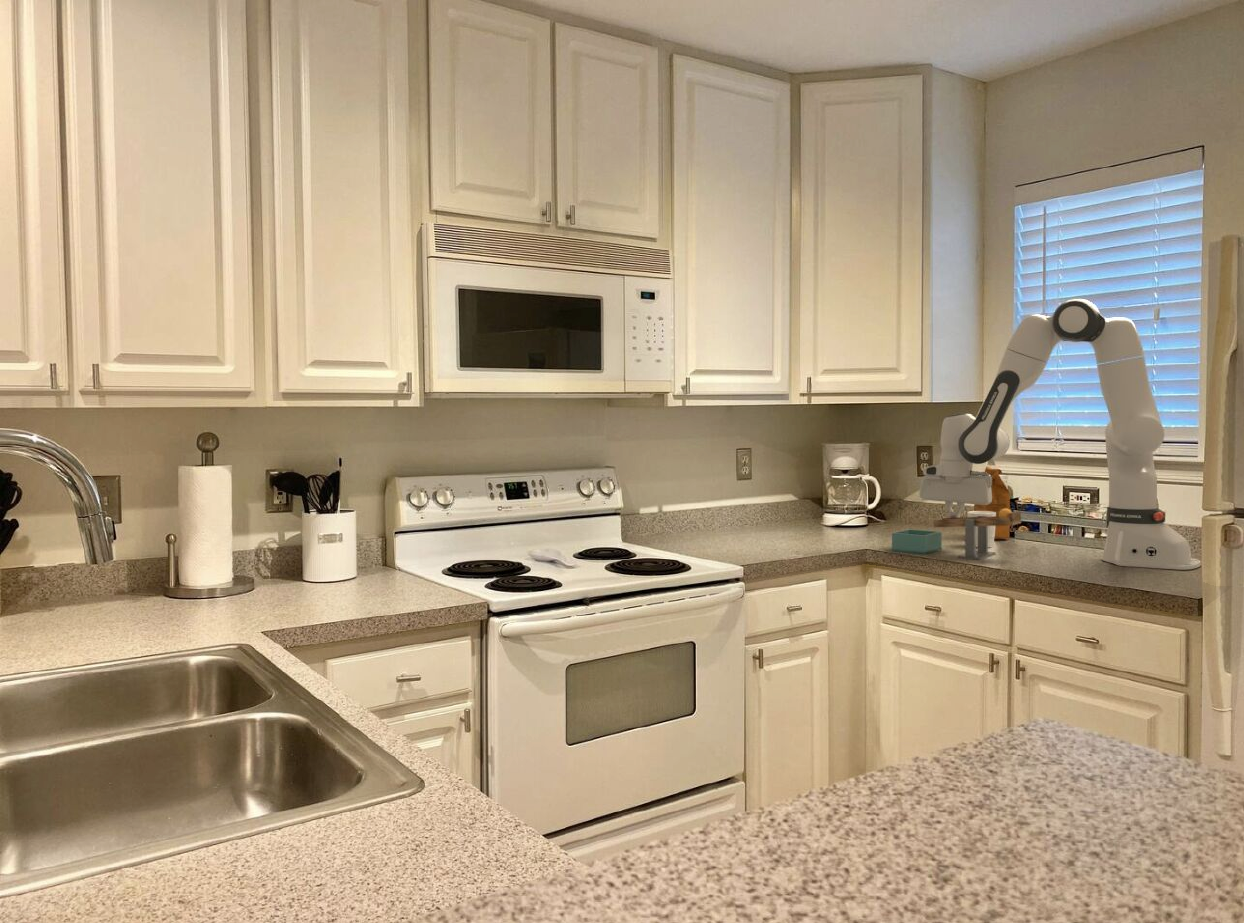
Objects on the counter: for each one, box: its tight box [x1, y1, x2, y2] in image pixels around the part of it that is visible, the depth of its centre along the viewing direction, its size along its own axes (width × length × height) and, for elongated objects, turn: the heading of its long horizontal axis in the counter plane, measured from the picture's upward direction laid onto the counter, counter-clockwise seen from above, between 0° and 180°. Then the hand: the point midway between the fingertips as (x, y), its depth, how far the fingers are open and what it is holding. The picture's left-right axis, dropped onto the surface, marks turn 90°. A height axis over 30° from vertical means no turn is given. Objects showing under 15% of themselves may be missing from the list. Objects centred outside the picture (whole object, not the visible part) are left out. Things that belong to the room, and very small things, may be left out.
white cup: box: [966, 510, 996, 549], centre depth 278 cm, size 8×8×10 cm
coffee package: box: [973, 466, 1011, 541], centre depth 293 cm, size 10×12×22 cm
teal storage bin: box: [891, 528, 943, 555], centre depth 273 cm, size 10×10×5 cm
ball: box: [999, 508, 1013, 518], centre depth 255 cm, size 4×4×4 cm
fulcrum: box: [957, 516, 996, 561], centre depth 261 cm, size 6×11×11 cm, turn 137°
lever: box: [933, 510, 1022, 528], centre depth 263 cm, size 22×13×3 cm, turn 47°
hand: (954, 518), depth 272 cm, fingers closed
